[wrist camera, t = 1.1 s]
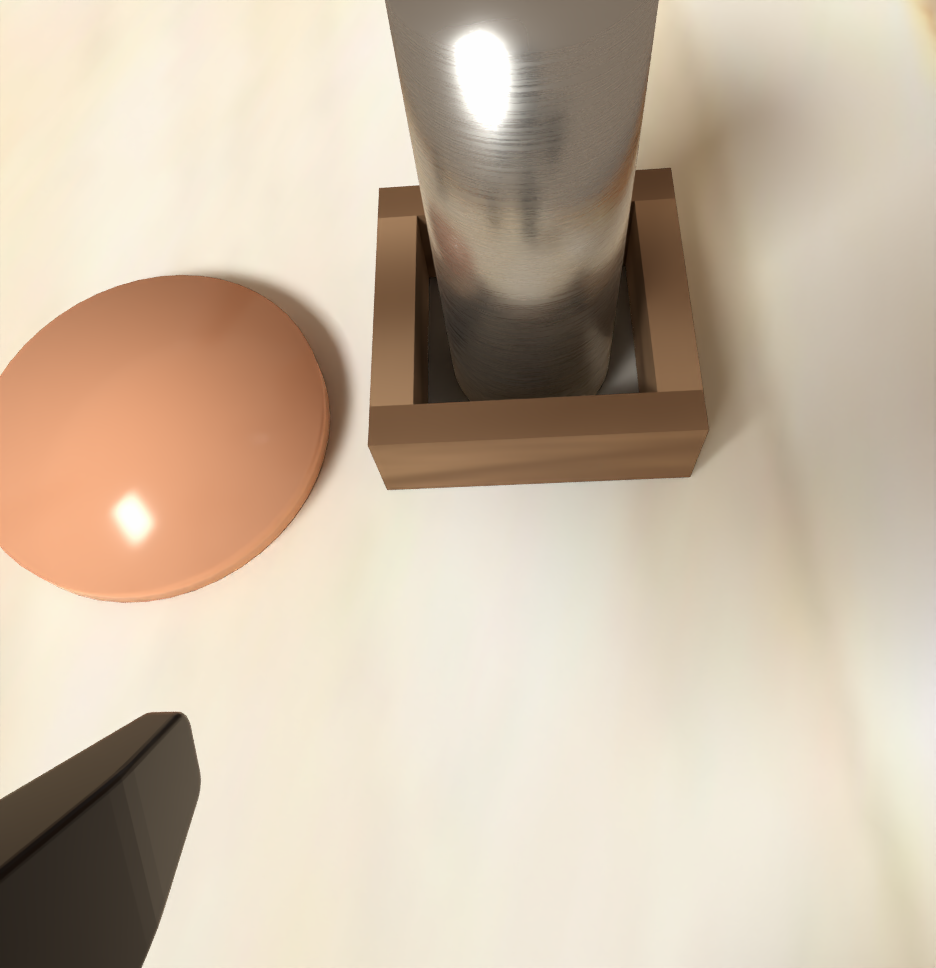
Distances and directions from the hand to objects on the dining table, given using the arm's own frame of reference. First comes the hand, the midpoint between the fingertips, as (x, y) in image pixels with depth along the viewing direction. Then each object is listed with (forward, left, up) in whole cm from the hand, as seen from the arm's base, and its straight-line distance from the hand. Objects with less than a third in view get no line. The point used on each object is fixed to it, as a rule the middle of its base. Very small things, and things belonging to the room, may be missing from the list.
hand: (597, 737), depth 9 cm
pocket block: (+10, +9, -13) cm, 19 cm away
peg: (+10, +9, -13) cm, 19 cm away
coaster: (0, +17, -13) cm, 21 cm away
